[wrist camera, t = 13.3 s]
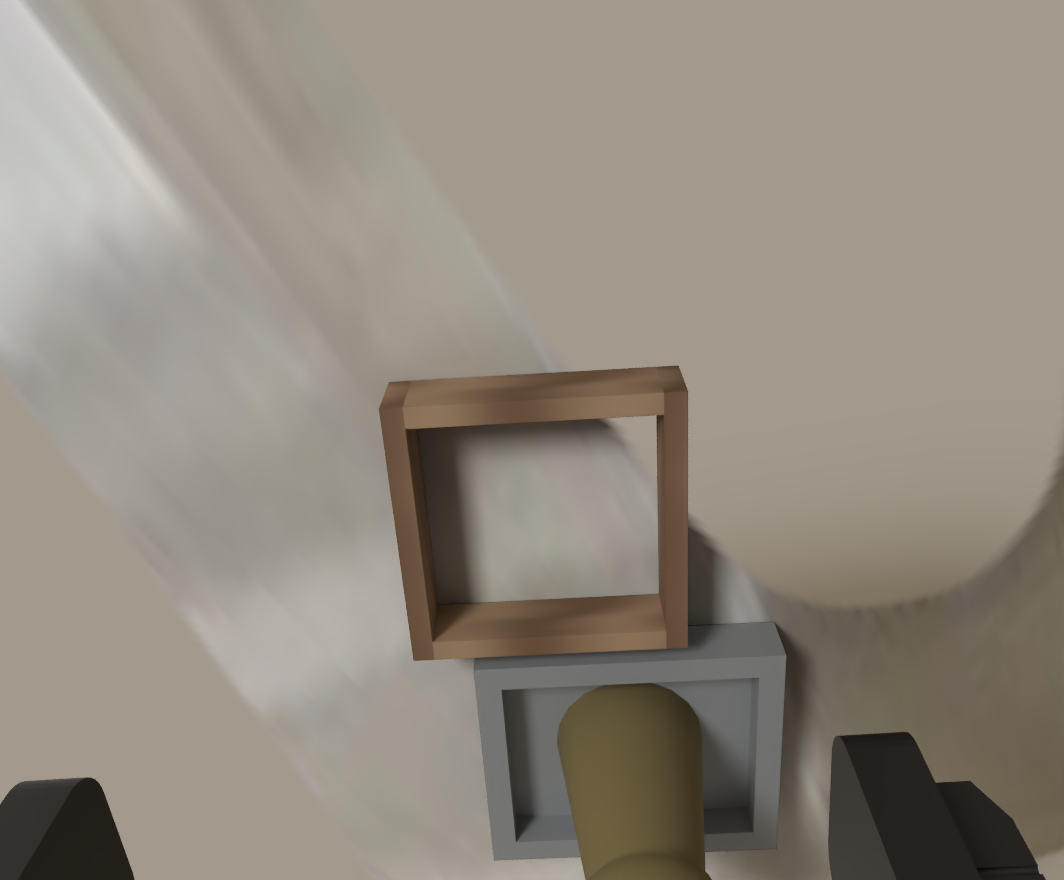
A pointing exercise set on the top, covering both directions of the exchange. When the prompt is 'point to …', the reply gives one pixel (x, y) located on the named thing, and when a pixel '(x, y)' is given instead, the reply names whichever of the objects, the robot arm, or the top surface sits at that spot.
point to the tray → (693, 673)
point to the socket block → (555, 619)
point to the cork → (635, 783)
